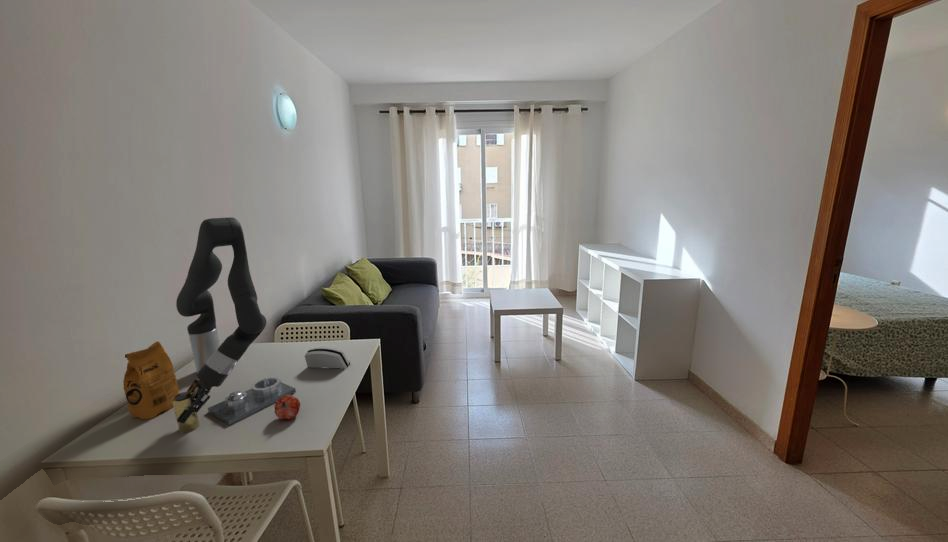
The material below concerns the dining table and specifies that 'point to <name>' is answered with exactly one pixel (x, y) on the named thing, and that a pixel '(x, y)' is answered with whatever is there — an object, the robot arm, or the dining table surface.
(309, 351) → the grey rounded block
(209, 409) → the fitting plate
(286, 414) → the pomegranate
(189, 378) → the dining table surface
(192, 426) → the gold and black cylinder
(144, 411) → the coffee package
